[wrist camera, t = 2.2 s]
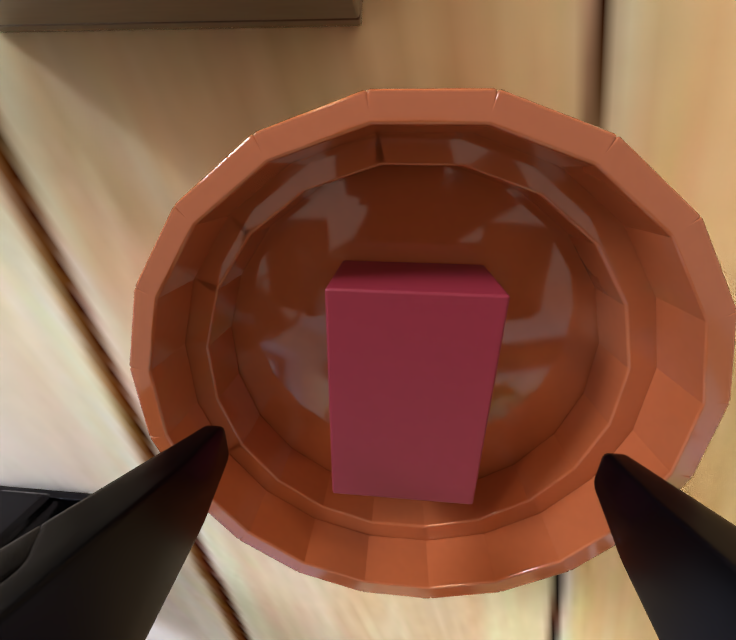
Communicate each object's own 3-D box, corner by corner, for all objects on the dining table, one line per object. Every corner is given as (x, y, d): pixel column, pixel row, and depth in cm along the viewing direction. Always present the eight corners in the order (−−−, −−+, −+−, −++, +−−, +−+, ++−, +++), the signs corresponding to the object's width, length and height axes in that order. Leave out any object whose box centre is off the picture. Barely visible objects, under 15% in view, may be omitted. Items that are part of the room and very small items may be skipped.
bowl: (570, 513, 16) (622, 619, 12) (235, 485, 17) (189, 574, 13) (703, 117, 10) (890, 85, 6) (167, 116, 11) (46, 89, 7)
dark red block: (458, 439, 14) (473, 505, 11) (345, 431, 14) (332, 494, 11) (484, 264, 11) (511, 295, 8) (342, 259, 11) (324, 287, 9)
